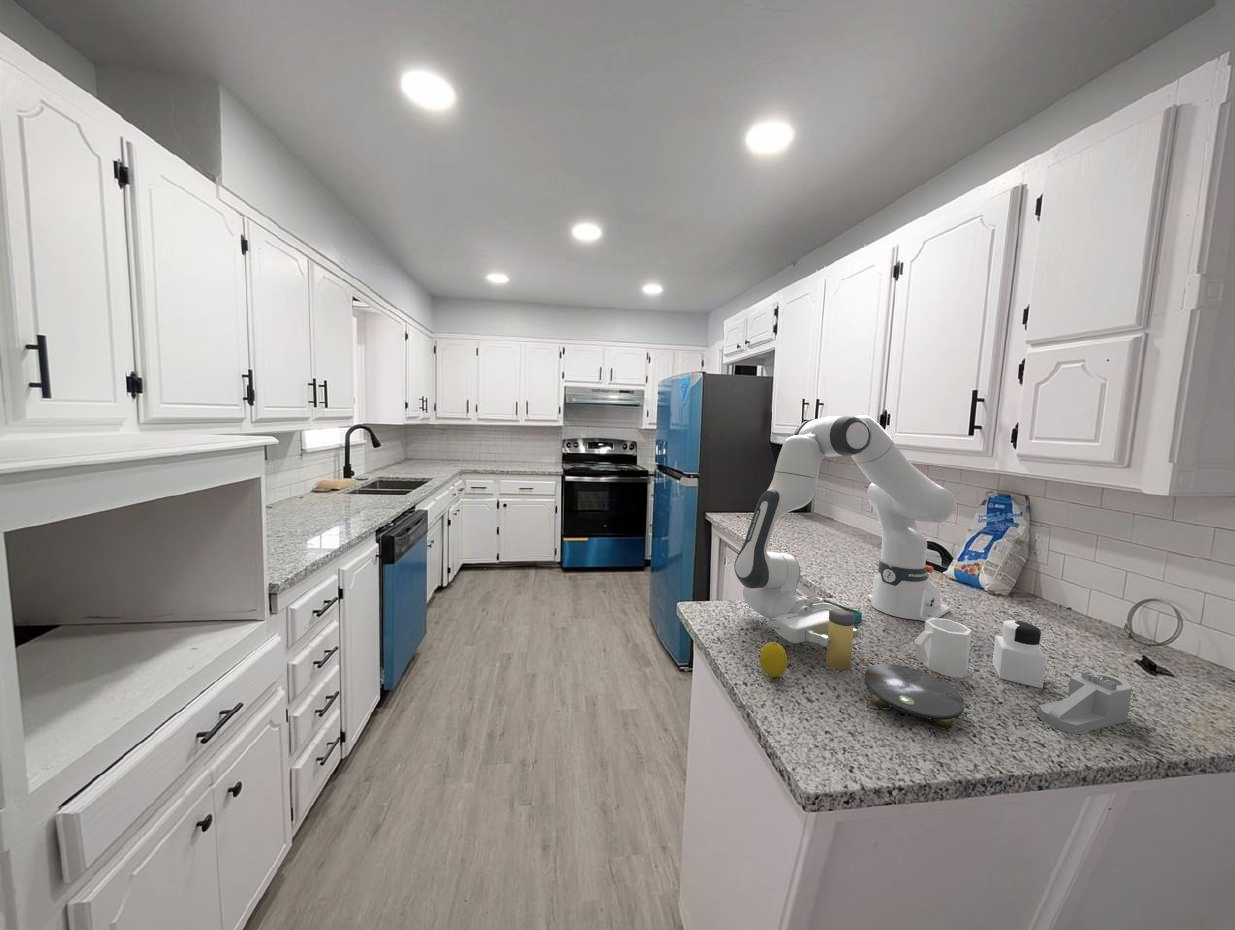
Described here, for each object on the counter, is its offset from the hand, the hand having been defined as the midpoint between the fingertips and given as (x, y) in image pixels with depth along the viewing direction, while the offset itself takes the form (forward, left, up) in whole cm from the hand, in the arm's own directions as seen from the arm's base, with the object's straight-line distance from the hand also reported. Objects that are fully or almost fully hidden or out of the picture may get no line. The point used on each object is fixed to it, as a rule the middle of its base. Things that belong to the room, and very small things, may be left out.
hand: (843, 638), depth 99 cm
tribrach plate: (0, +15, -7) cm, 17 cm away
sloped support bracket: (-28, +31, -7) cm, 42 cm away
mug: (-20, +9, -7) cm, 23 cm away
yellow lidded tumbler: (0, -1, -7) cm, 7 cm away
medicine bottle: (-33, +18, -7) cm, 38 cm away
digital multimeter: (-22, -20, -7) cm, 31 cm away
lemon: (+18, -3, -7) cm, 19 cm away
